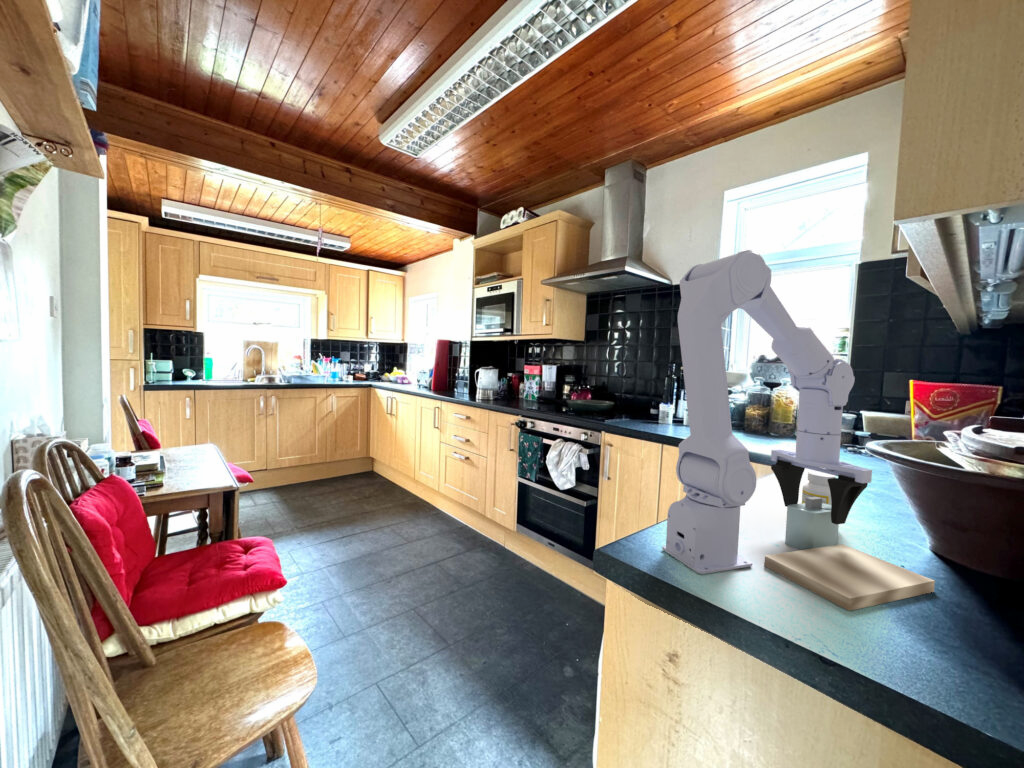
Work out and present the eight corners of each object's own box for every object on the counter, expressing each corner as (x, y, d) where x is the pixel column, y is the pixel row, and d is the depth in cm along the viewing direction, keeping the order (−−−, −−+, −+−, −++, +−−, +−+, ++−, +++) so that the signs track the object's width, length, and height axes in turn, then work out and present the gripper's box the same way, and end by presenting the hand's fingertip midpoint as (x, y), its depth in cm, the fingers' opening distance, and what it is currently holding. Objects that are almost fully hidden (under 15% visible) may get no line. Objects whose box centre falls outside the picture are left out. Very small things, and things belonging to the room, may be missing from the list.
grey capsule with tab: (803, 551, 63) (806, 504, 62) (779, 541, 66) (782, 495, 66) (843, 545, 65) (846, 500, 65) (817, 535, 69) (820, 492, 69)
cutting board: (848, 610, 47) (849, 598, 47) (764, 565, 57) (764, 555, 57) (933, 591, 52) (934, 580, 52) (841, 553, 62) (842, 544, 62)
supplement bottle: (824, 522, 76) (827, 471, 75) (845, 533, 70) (849, 479, 70) (794, 520, 76) (797, 469, 76) (812, 531, 71) (816, 477, 70)
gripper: (888, 439, 59) (881, 529, 60) (793, 425, 73) (788, 498, 74) (855, 441, 57) (849, 533, 58) (763, 425, 71) (759, 501, 72)
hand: (813, 514), depth 66 cm, fingers open, 7 cm apart
